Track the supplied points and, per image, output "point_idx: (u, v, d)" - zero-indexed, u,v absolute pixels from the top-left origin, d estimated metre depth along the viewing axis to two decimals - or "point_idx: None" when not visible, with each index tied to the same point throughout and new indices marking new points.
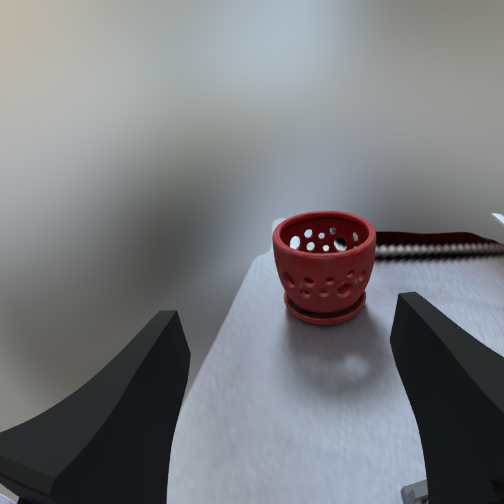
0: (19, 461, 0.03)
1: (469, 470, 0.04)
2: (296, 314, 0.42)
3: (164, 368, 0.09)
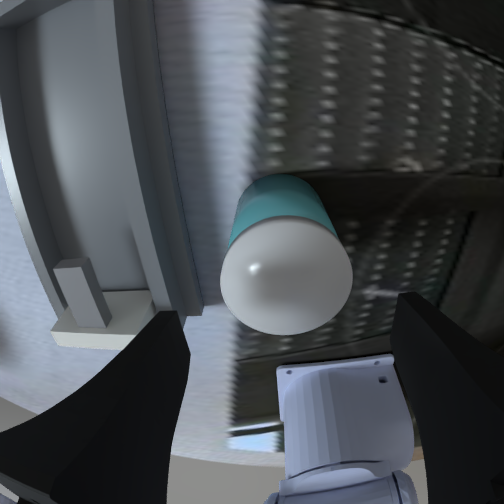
0: (19, 461, 0.03)
1: (469, 470, 0.04)
2: None
3: (164, 368, 0.09)
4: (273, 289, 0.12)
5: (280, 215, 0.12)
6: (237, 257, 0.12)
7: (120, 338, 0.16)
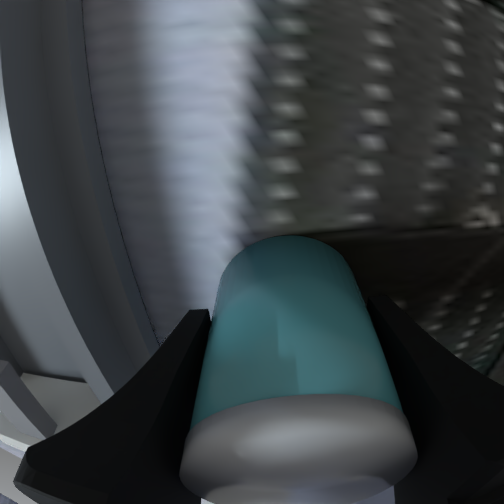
0: (62, 477, 0.03)
1: (428, 484, 0.04)
2: None
3: (199, 369, 0.08)
4: (276, 489, 0.06)
5: (294, 392, 0.05)
6: (206, 464, 0.05)
7: None
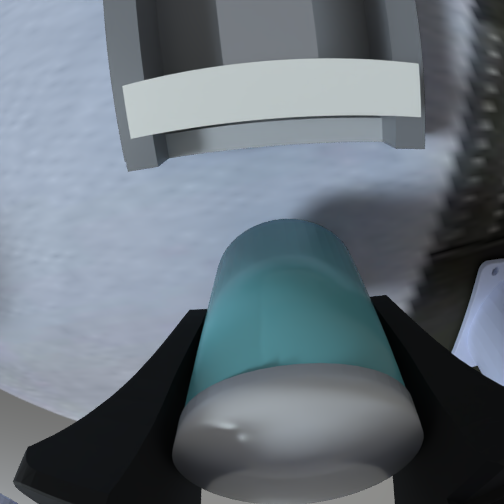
0: (62, 477, 0.03)
1: (428, 484, 0.04)
2: None
3: None
4: (274, 473, 0.05)
5: (315, 360, 0.05)
6: (209, 436, 0.05)
7: (373, 73, 0.05)
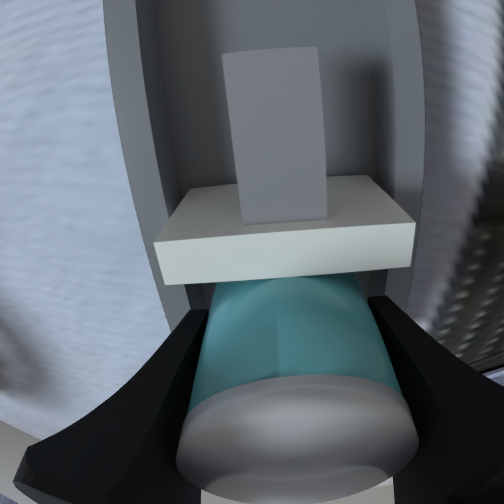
0: (62, 477, 0.03)
1: (428, 484, 0.04)
2: None
3: None
4: (274, 476, 0.06)
5: (314, 372, 0.05)
6: (211, 444, 0.05)
7: (373, 236, 0.07)
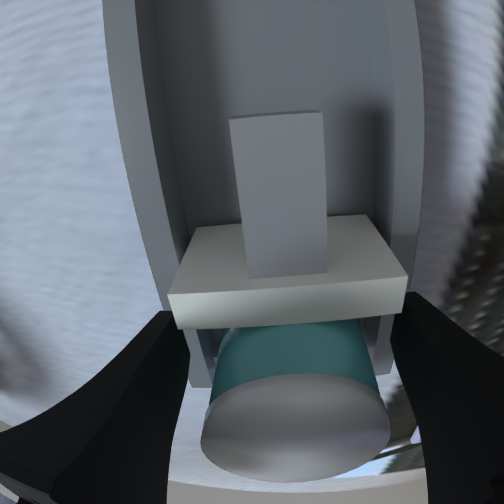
0: (19, 461, 0.03)
1: (469, 470, 0.04)
2: None
3: (164, 368, 0.09)
4: (276, 454, 0.07)
5: (302, 371, 0.07)
6: (228, 426, 0.07)
7: (368, 289, 0.08)
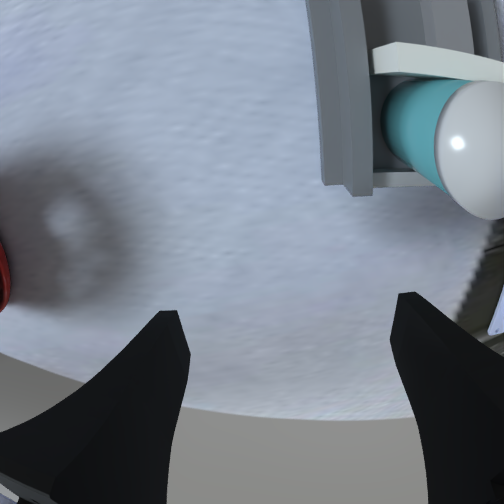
0: (20, 461, 0.03)
1: (469, 470, 0.04)
2: (5, 304, 0.21)
3: (164, 368, 0.09)
4: (490, 154, 0.08)
5: None
6: (468, 104, 0.08)
7: (498, 67, 0.09)
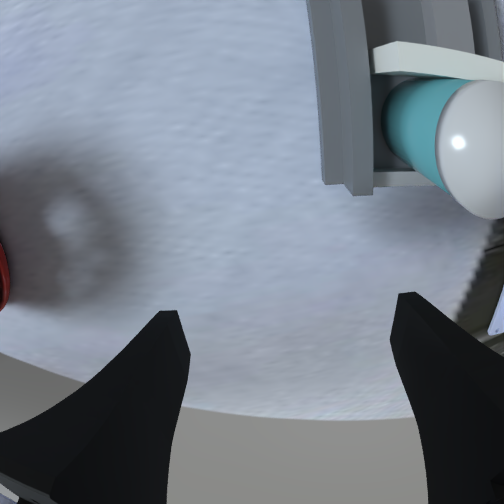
0: (19, 461, 0.03)
1: (469, 470, 0.04)
2: (5, 303, 0.21)
3: (164, 368, 0.09)
4: (491, 153, 0.08)
5: None
6: (469, 104, 0.08)
7: (498, 66, 0.09)
